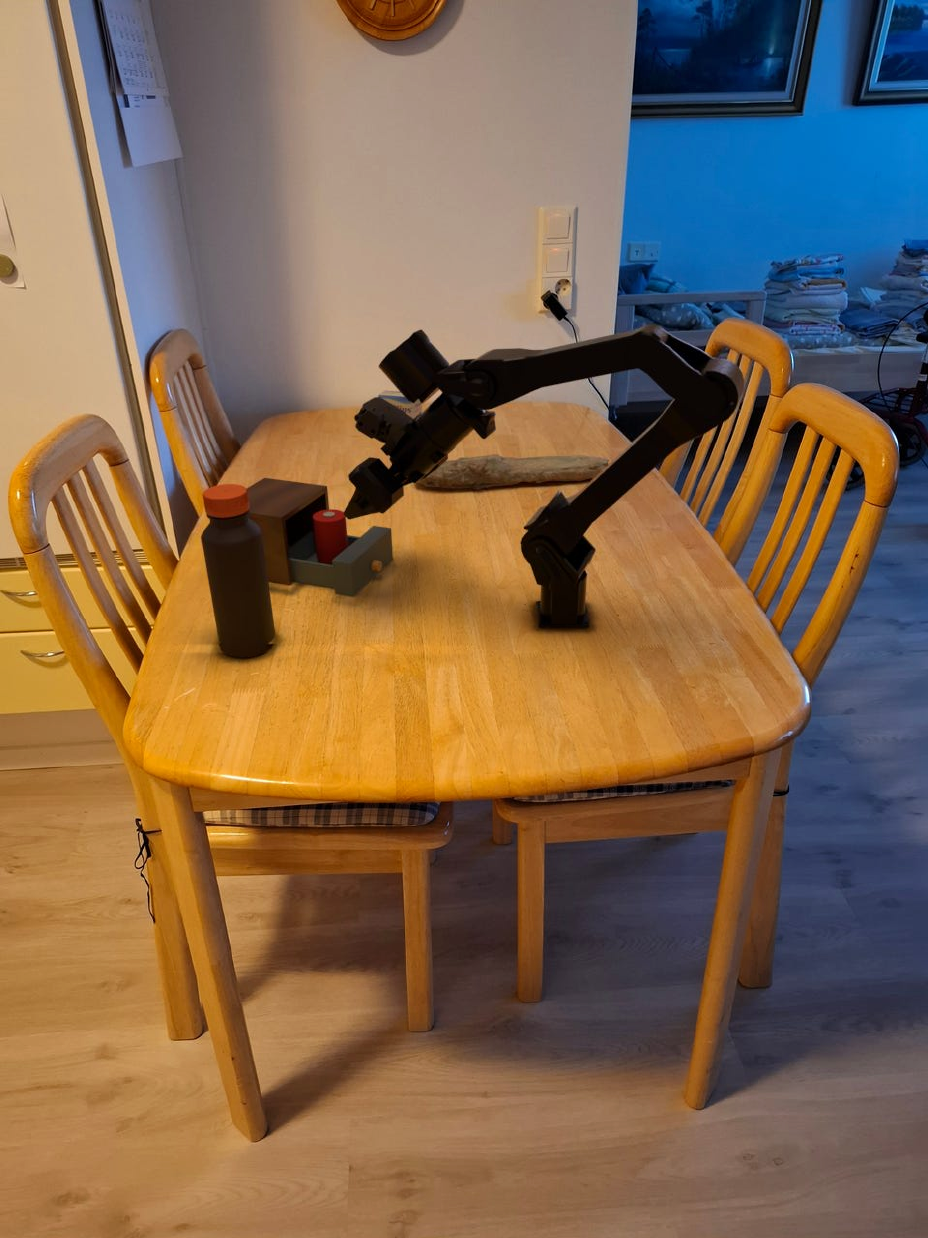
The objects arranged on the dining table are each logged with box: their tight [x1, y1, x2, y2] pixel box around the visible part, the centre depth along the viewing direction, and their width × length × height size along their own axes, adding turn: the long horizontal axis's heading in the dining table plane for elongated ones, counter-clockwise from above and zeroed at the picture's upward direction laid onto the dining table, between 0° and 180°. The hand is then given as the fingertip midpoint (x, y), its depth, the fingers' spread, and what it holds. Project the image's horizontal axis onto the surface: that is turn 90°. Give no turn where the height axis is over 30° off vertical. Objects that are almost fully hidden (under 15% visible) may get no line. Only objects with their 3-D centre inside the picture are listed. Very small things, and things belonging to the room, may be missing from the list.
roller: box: [313, 508, 348, 565], centre depth 123 cm, size 4×4×8 cm
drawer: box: [288, 525, 394, 598], centre depth 124 cm, size 13×12×6 cm
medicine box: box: [377, 390, 423, 419], centre depth 180 cm, size 8×4×9 cm, turn 73°
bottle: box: [200, 483, 276, 659], centre depth 105 cm, size 7×7×20 cm
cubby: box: [246, 477, 330, 586], centre depth 126 cm, size 10×12×11 cm
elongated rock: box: [417, 453, 610, 491], centre depth 158 cm, size 35×5×10 cm
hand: (362, 503), depth 118 cm, fingers open, 9 cm apart
